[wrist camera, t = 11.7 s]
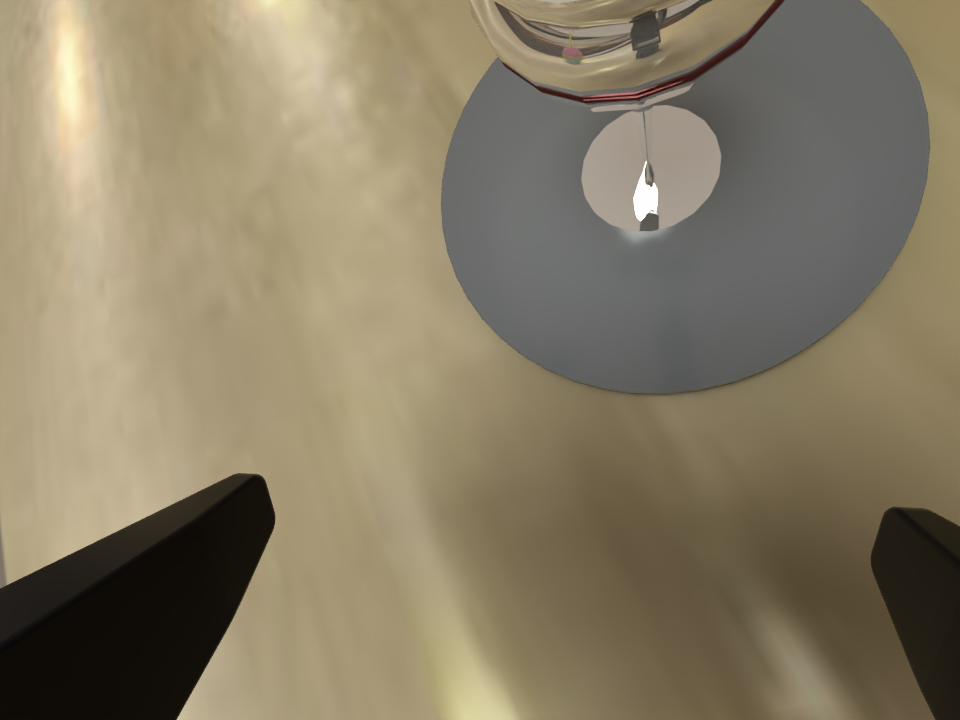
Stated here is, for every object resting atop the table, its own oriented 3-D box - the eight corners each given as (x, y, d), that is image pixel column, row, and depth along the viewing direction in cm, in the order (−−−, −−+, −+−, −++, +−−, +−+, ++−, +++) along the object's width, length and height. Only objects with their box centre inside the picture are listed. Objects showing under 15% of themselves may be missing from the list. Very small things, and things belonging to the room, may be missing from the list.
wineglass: (586, 77, 21) (485, -337, 10) (772, 88, 18) (930, -454, 7) (537, 238, 21) (378, 5, 9) (719, 271, 18) (796, 8, 7)
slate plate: (1020, 17, 17) (1036, -2, 16) (770, 482, 17) (775, 484, 17) (557, -57, 23) (553, -73, 22) (386, 288, 24) (377, 283, 23)
